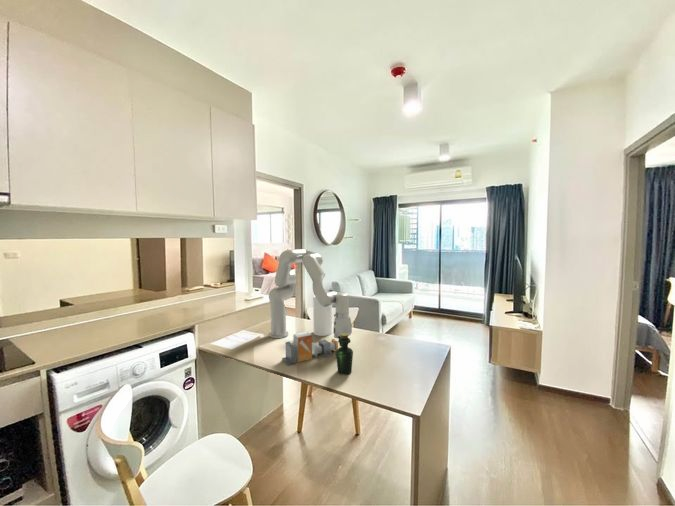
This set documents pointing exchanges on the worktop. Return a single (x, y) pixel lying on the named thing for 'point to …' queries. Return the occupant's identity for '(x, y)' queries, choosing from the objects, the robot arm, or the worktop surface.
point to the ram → (319, 347)
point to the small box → (303, 346)
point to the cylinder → (322, 319)
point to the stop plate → (289, 354)
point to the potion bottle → (344, 355)
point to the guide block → (325, 348)
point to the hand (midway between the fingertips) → (342, 346)
